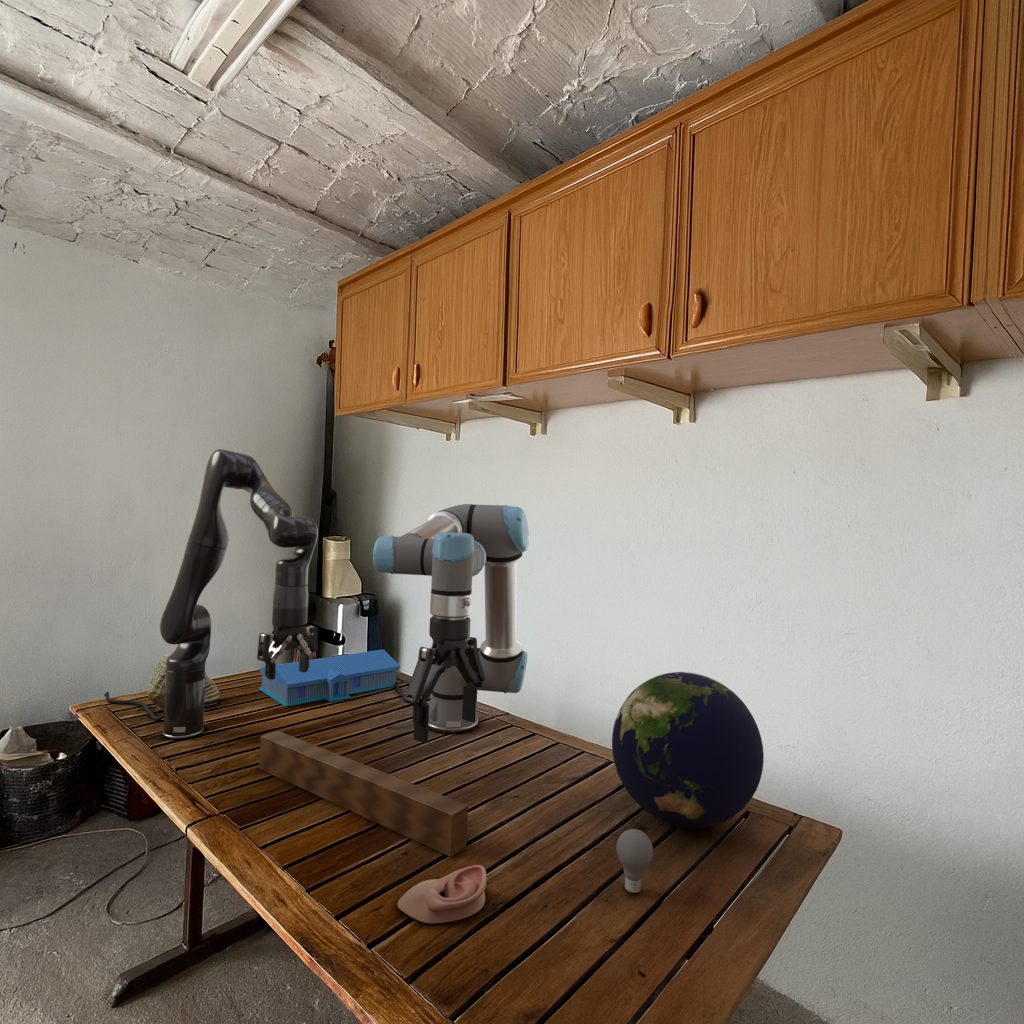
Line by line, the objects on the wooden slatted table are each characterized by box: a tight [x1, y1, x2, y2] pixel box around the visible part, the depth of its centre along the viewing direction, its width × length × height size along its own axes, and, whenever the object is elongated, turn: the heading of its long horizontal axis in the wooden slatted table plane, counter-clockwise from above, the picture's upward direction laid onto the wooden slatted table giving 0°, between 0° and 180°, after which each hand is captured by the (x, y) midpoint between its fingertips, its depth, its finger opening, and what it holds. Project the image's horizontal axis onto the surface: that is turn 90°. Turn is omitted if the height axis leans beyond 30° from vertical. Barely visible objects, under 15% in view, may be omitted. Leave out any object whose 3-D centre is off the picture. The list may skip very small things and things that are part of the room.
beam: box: [258, 730, 469, 857], centre depth 132 cm, size 57×5×8 cm, turn 56°
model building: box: [258, 649, 401, 707], centre depth 208 cm, size 39×24×10 cm, turn 132°
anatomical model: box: [396, 864, 488, 925], centre depth 101 cm, size 13×4×12 cm
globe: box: [611, 671, 765, 829], centre depth 130 cm, size 30×30×30 cm
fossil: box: [147, 654, 221, 712], centre depth 185 cm, size 9×18×15 cm, turn 132°
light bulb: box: [615, 828, 654, 894], centre depth 106 cm, size 6×6×10 cm
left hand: (287, 675), depth 144 cm, fingers open, 8 cm apart
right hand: (445, 730), depth 117 cm, fingers open, 13 cm apart
